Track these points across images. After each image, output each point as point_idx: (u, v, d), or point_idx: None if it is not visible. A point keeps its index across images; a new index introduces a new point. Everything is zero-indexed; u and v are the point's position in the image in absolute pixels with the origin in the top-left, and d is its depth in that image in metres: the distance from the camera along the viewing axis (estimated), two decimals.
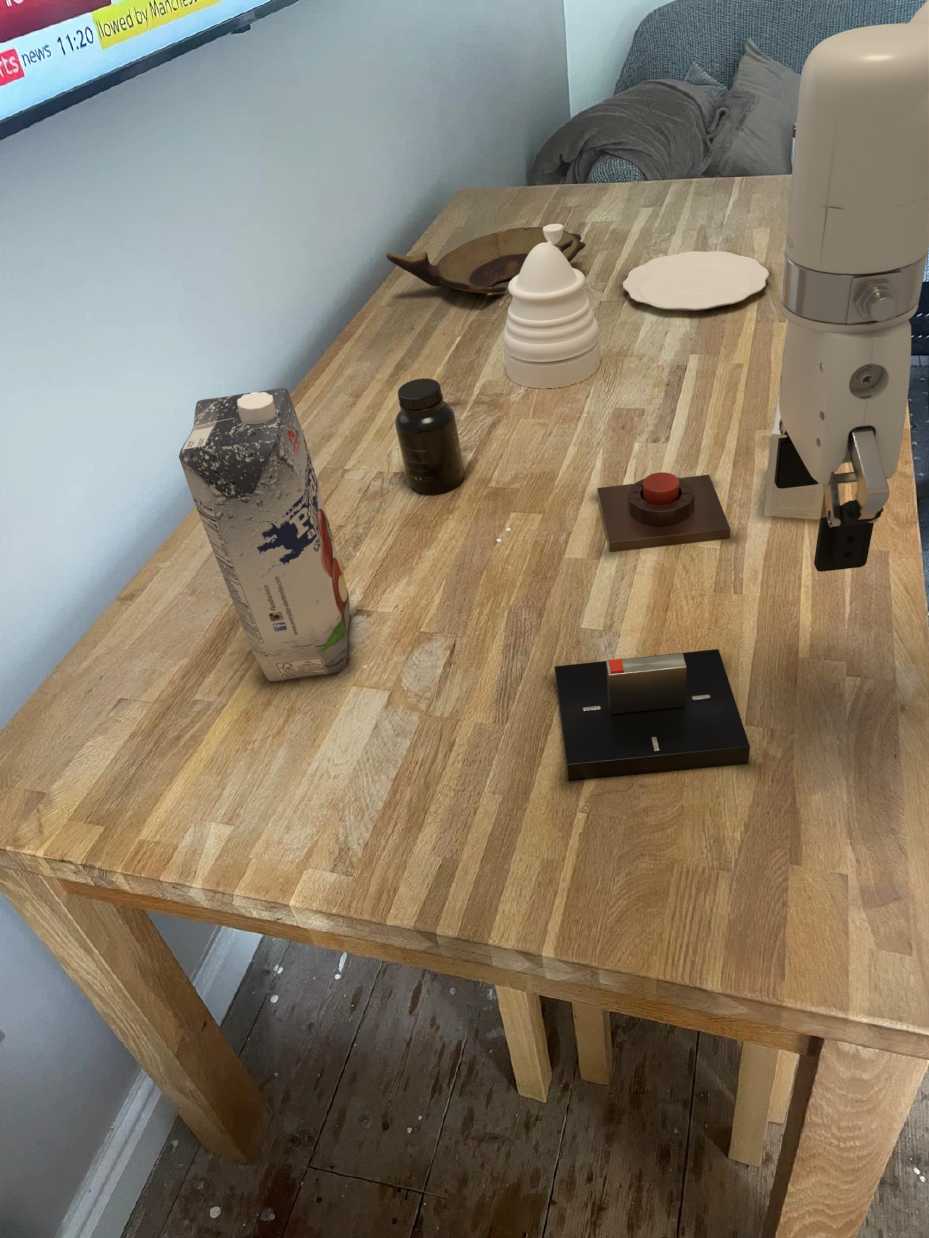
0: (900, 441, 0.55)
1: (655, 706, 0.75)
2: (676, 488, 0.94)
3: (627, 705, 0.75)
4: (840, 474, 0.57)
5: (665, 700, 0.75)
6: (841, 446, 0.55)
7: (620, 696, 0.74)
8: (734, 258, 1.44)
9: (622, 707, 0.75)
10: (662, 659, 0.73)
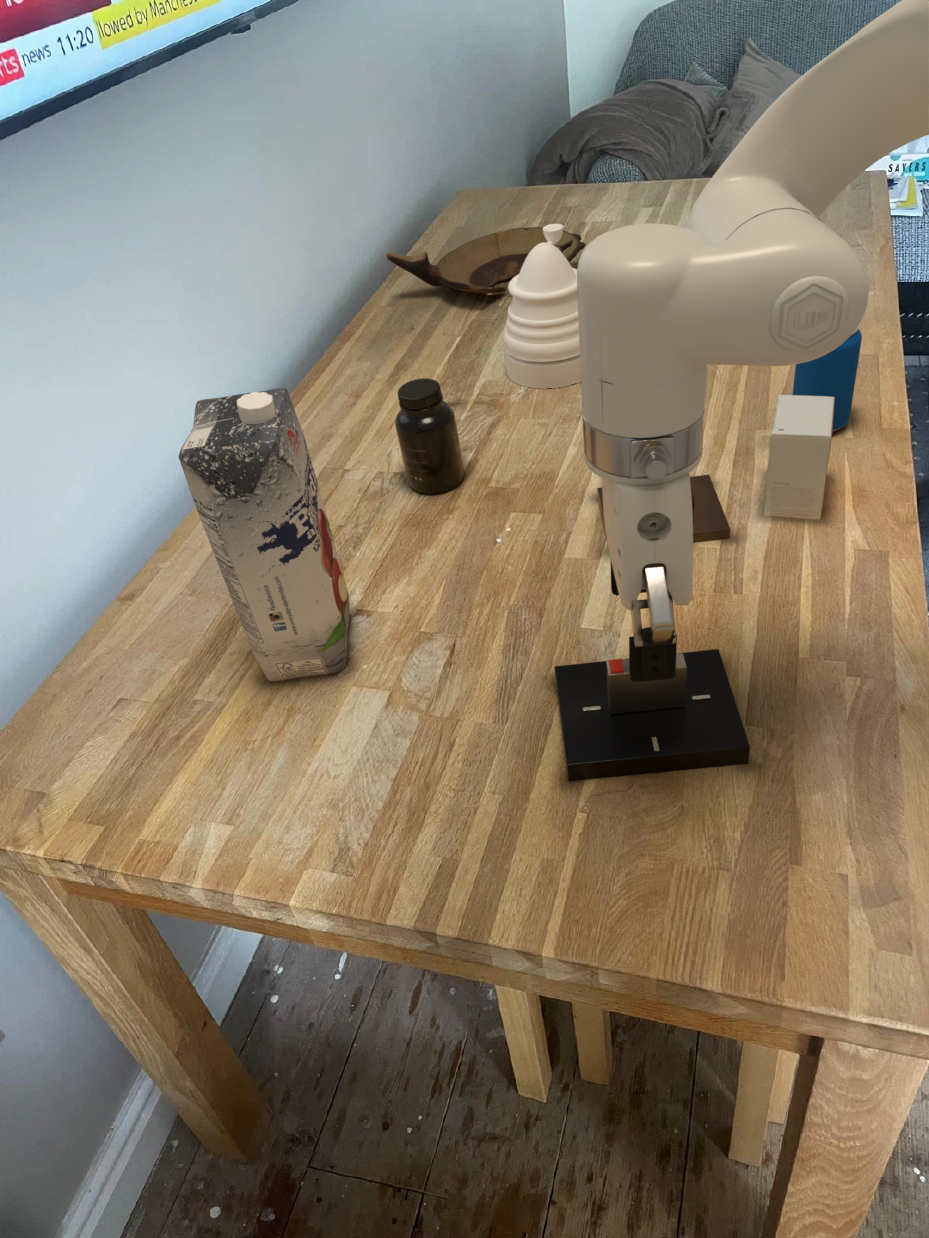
0: (690, 575, 0.61)
1: (655, 706, 0.75)
2: None
3: (627, 705, 0.75)
4: (642, 600, 0.63)
5: (665, 700, 0.75)
6: (637, 579, 0.61)
7: (620, 696, 0.74)
8: None
9: (622, 707, 0.75)
10: None
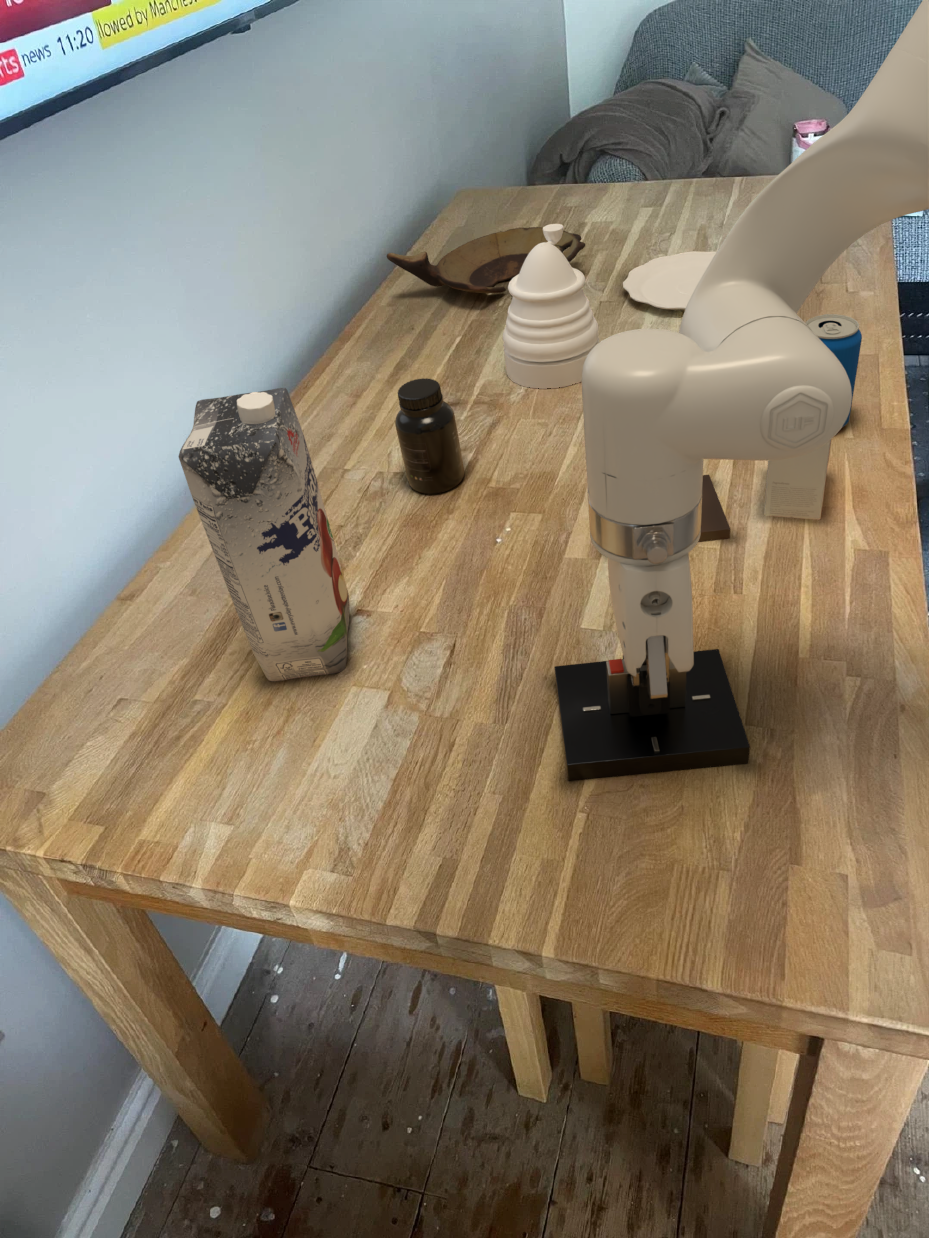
0: (691, 645, 0.65)
1: None
2: None
3: (627, 705, 0.75)
4: None
5: None
6: (641, 649, 0.65)
7: (620, 696, 0.74)
8: None
9: (622, 707, 0.75)
10: None
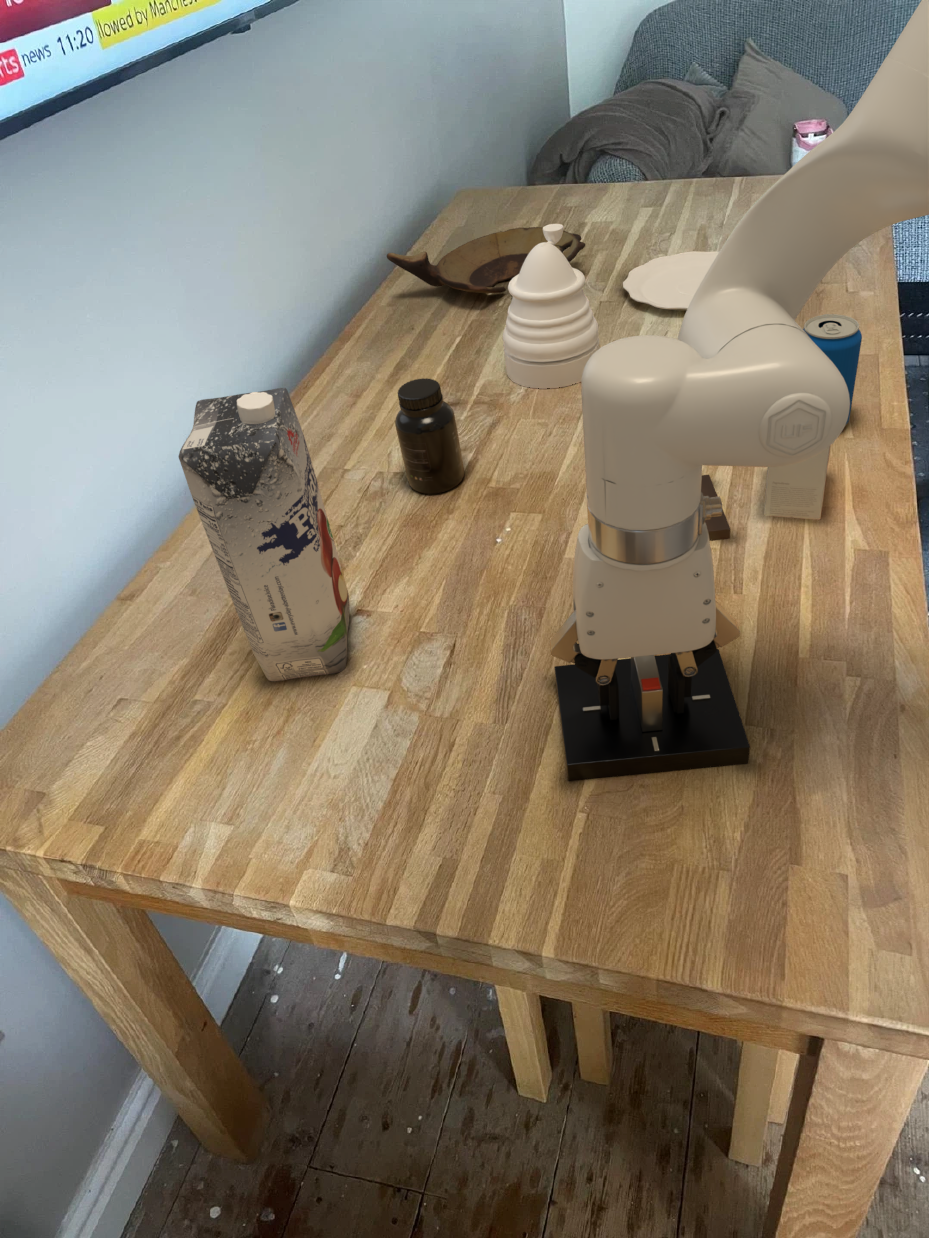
0: None
1: None
2: None
3: None
4: None
5: None
6: None
7: None
8: None
9: None
10: None
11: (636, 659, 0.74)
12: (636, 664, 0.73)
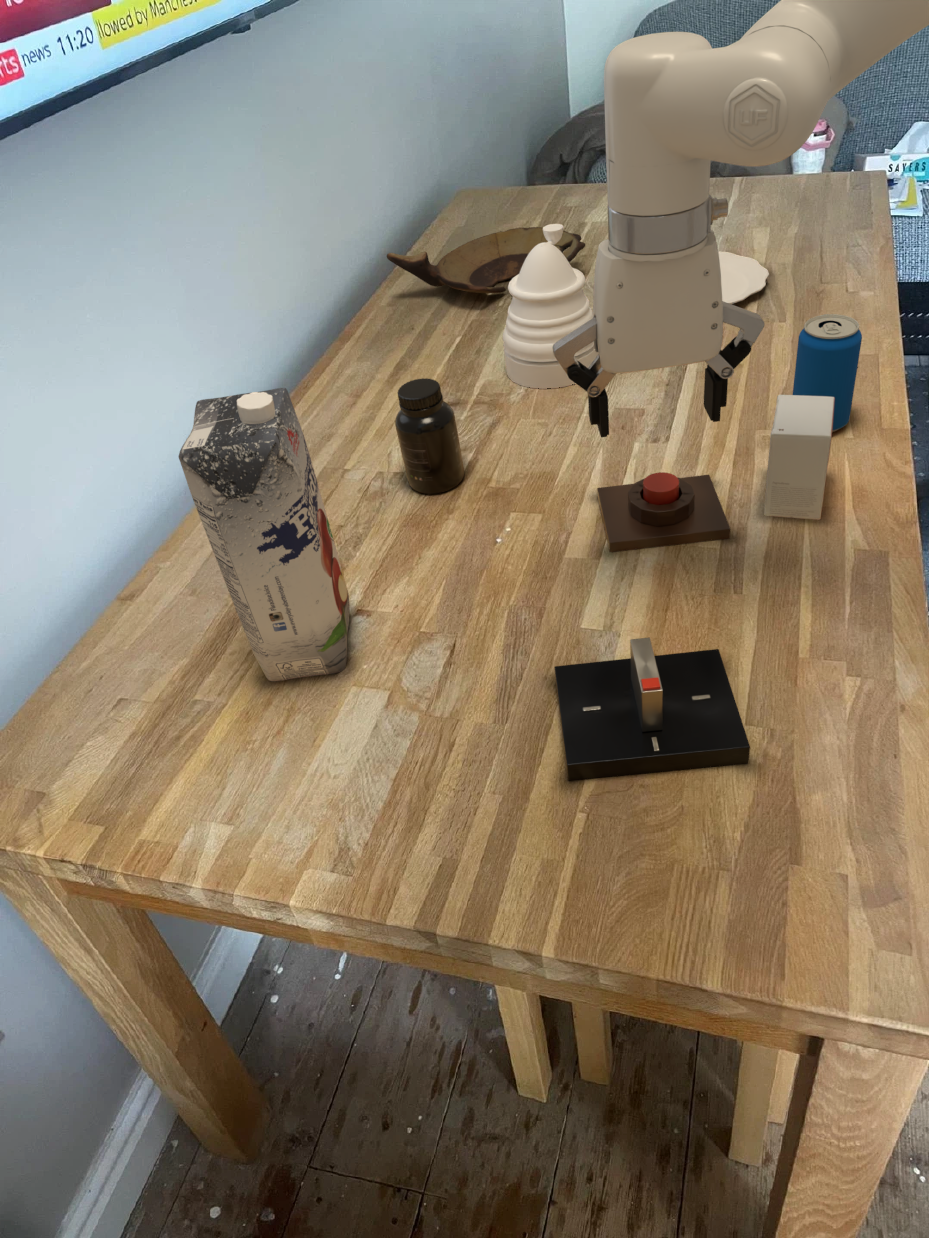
0: None
1: None
2: (676, 488, 0.94)
3: None
4: None
5: None
6: None
7: None
8: (734, 258, 1.44)
9: None
10: (639, 652, 0.74)
11: (636, 659, 0.74)
12: (636, 664, 0.73)
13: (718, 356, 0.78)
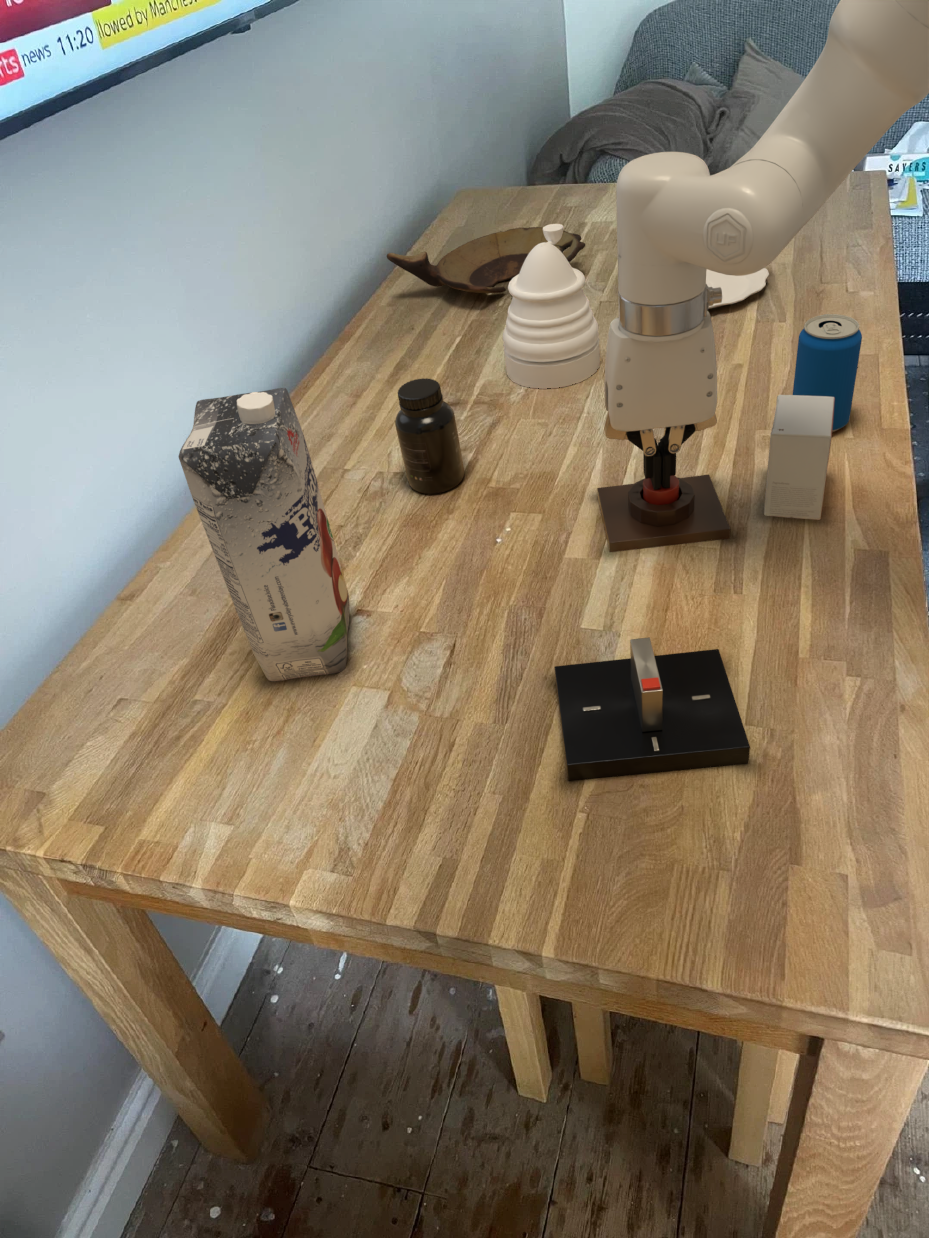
0: None
1: None
2: (676, 488, 0.94)
3: None
4: None
5: None
6: None
7: None
8: None
9: None
10: (639, 652, 0.74)
11: (636, 659, 0.74)
12: (636, 664, 0.73)
13: (681, 433, 0.90)
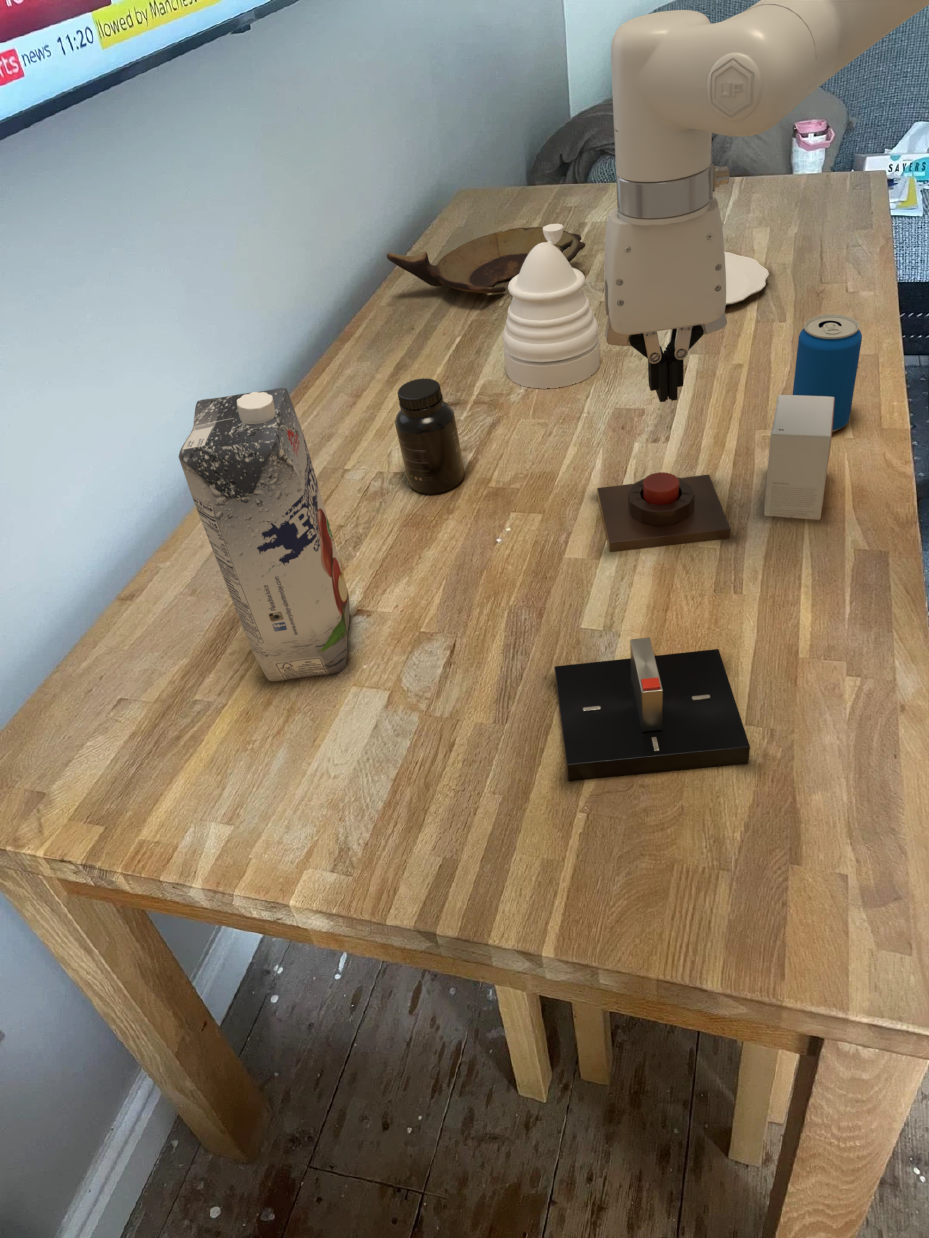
0: None
1: None
2: (676, 488, 0.94)
3: None
4: None
5: None
6: None
7: None
8: (734, 258, 1.44)
9: None
10: (639, 652, 0.74)
11: (636, 659, 0.74)
12: (636, 664, 0.73)
13: (688, 335, 0.83)
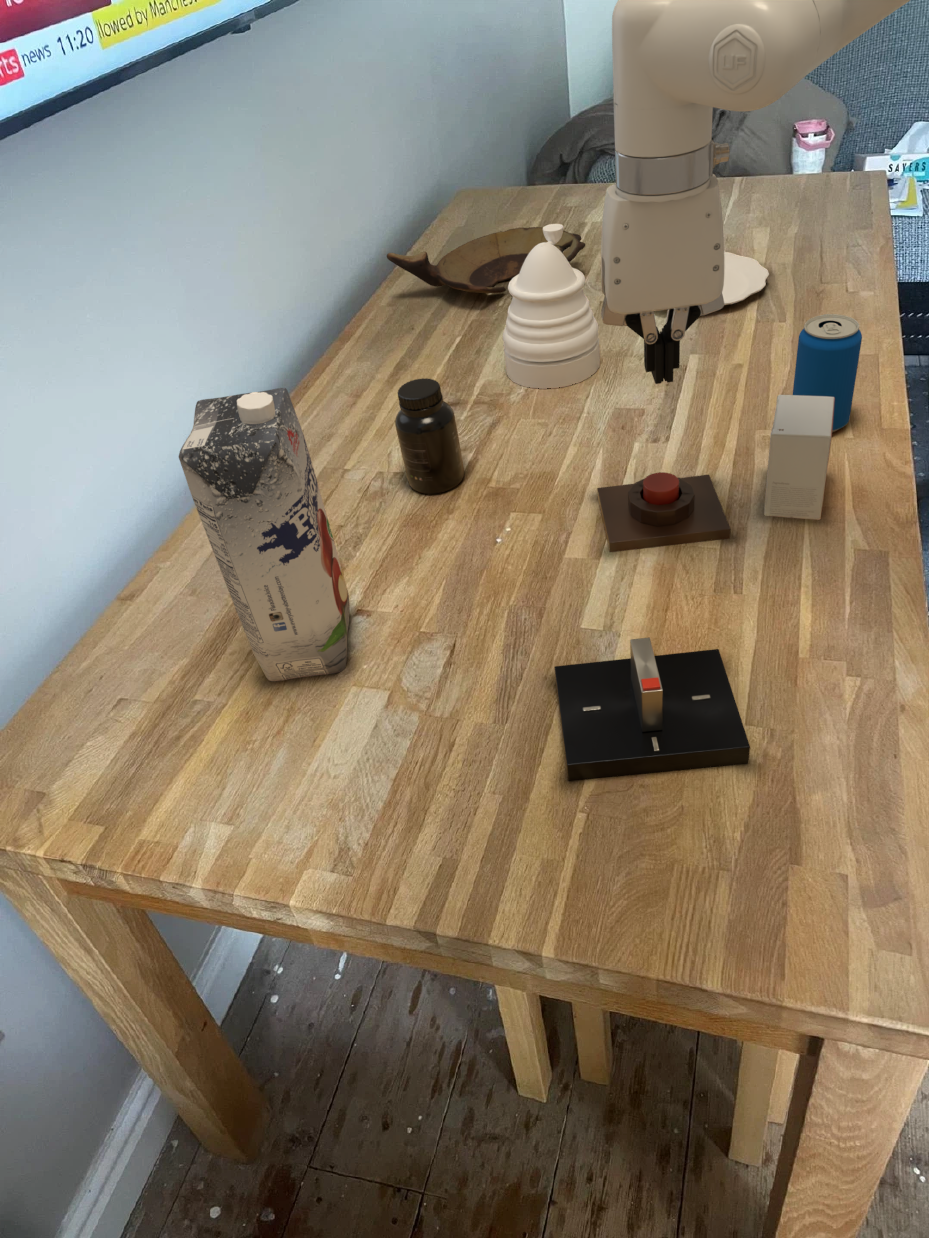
0: None
1: None
2: (676, 488, 0.94)
3: None
4: None
5: None
6: None
7: None
8: (734, 258, 1.44)
9: None
10: (639, 652, 0.74)
11: (636, 659, 0.74)
12: (636, 664, 0.73)
13: (685, 316, 0.82)
